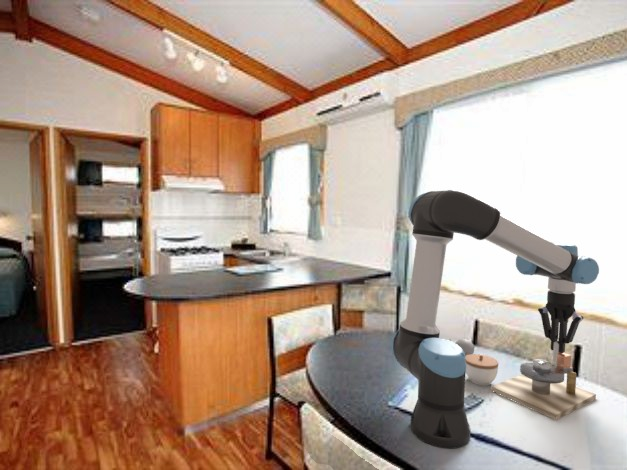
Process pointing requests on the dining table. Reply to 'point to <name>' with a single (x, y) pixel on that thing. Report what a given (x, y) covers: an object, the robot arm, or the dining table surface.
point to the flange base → (545, 394)
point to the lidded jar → (481, 369)
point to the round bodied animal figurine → (465, 346)
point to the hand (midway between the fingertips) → (556, 361)
